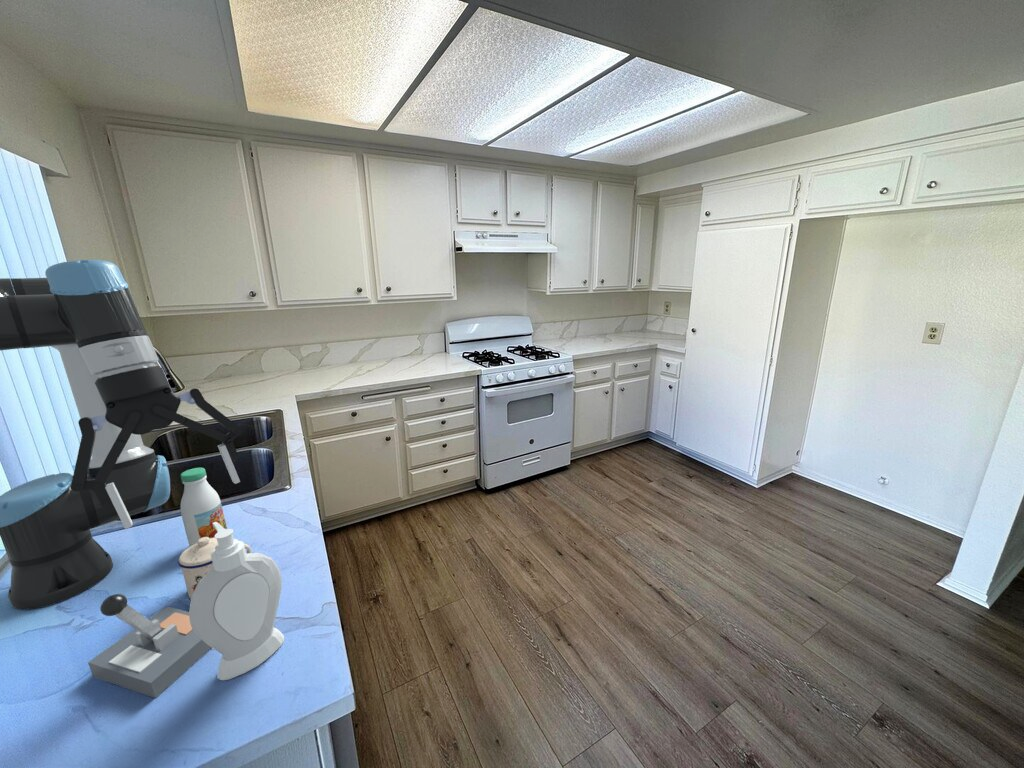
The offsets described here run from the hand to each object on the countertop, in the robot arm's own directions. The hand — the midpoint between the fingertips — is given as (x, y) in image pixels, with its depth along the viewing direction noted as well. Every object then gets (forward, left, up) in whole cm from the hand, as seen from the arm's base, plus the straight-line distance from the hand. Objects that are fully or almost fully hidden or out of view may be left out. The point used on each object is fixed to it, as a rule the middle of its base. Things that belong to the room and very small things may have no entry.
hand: (186, 502), depth 63 cm
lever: (-11, +1, -25) cm, 27 cm away
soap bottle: (+4, 0, -29) cm, 30 cm away
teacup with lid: (-11, +18, -29) cm, 36 cm away
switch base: (-11, +1, -29) cm, 31 cm away
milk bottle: (-22, +32, -29) cm, 49 cm away
